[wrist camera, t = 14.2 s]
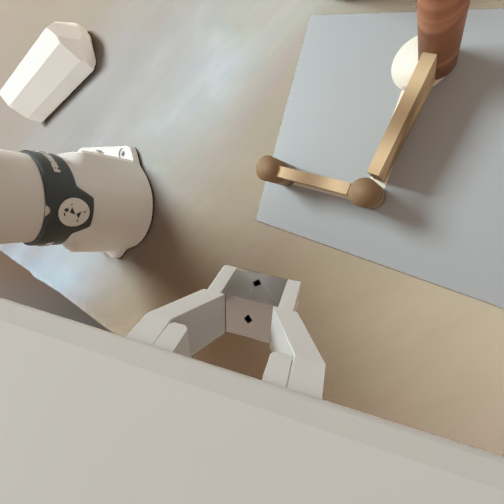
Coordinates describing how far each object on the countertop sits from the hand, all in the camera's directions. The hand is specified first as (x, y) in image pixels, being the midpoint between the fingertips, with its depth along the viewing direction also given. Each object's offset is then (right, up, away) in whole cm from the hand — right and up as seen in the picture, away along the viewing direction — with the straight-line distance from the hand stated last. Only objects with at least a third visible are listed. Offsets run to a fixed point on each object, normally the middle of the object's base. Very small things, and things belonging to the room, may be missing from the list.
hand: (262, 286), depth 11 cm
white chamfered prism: (-36, +34, +43) cm, 65 cm away
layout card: (+14, +11, +15) cm, 23 cm away
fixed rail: (+8, +8, +19) cm, 22 cm away
